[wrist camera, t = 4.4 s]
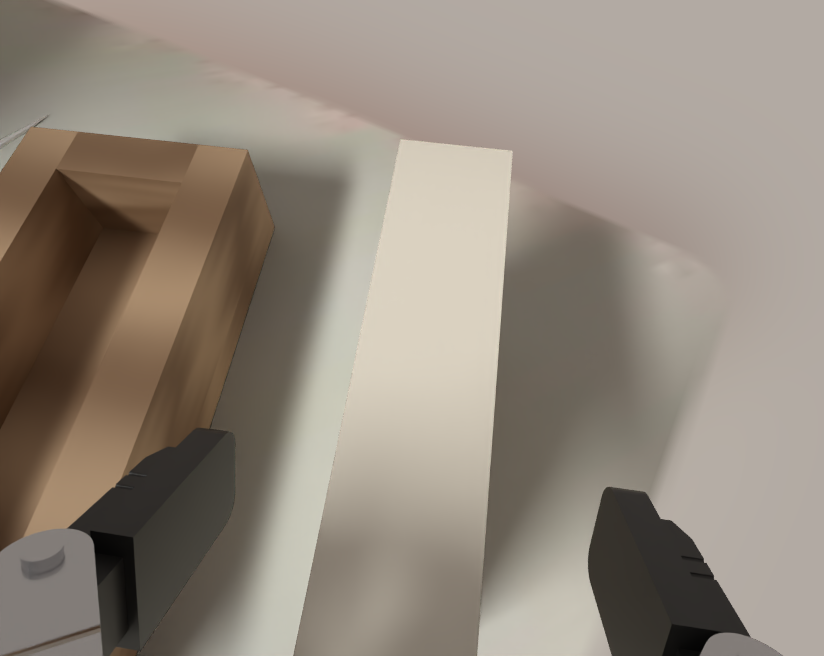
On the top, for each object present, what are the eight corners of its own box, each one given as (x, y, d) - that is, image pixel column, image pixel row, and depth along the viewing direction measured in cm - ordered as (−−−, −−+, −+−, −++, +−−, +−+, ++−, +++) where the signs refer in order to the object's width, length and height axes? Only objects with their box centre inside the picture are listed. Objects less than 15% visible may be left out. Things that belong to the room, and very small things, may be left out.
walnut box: (104, 753, 16) (-5, 803, 12) (-173, 703, 17) (-372, 734, 12) (274, 227, 25) (247, 149, 21) (92, 206, 26) (30, 126, 22)
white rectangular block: (441, 651, 18) (474, 690, 9) (350, 636, 18) (292, 660, 9) (472, 327, 23) (512, 150, 14) (403, 319, 23) (400, 139, 14)
